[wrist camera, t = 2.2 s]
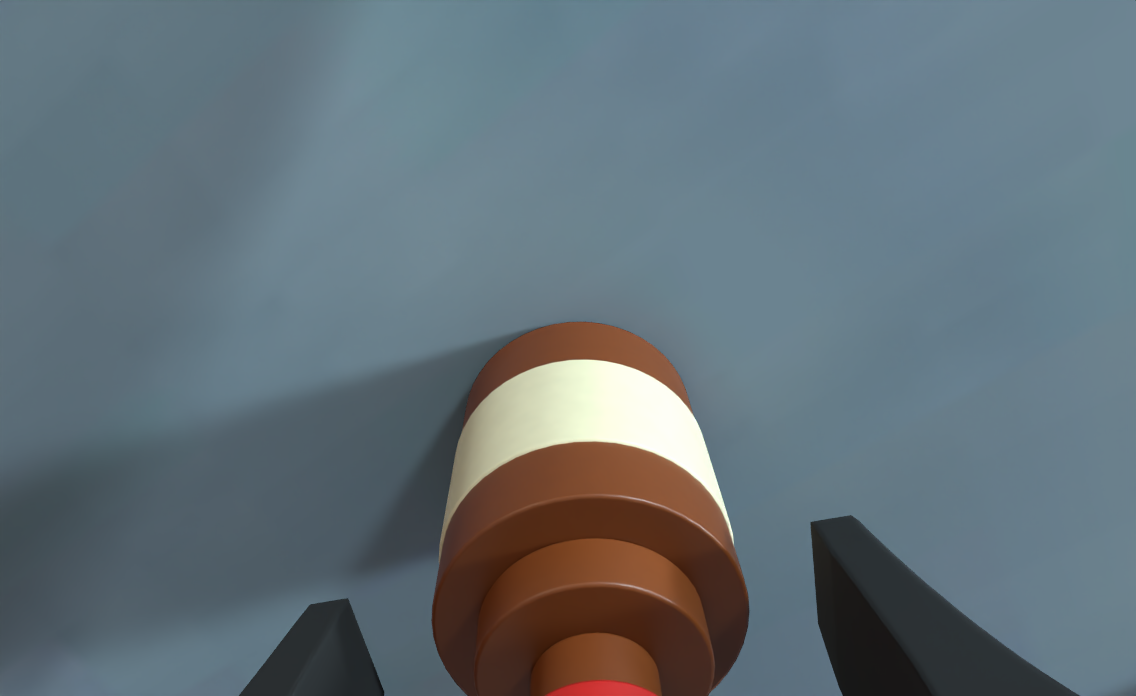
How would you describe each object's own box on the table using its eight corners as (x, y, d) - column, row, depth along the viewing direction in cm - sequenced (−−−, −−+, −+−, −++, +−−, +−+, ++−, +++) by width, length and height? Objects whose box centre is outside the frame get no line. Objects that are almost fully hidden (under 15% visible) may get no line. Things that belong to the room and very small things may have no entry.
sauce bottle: (738, 390, 18) (895, 760, 10) (609, 549, 20) (653, 974, 12) (540, 275, 17) (534, 589, 9) (421, 454, 19) (325, 857, 10)
